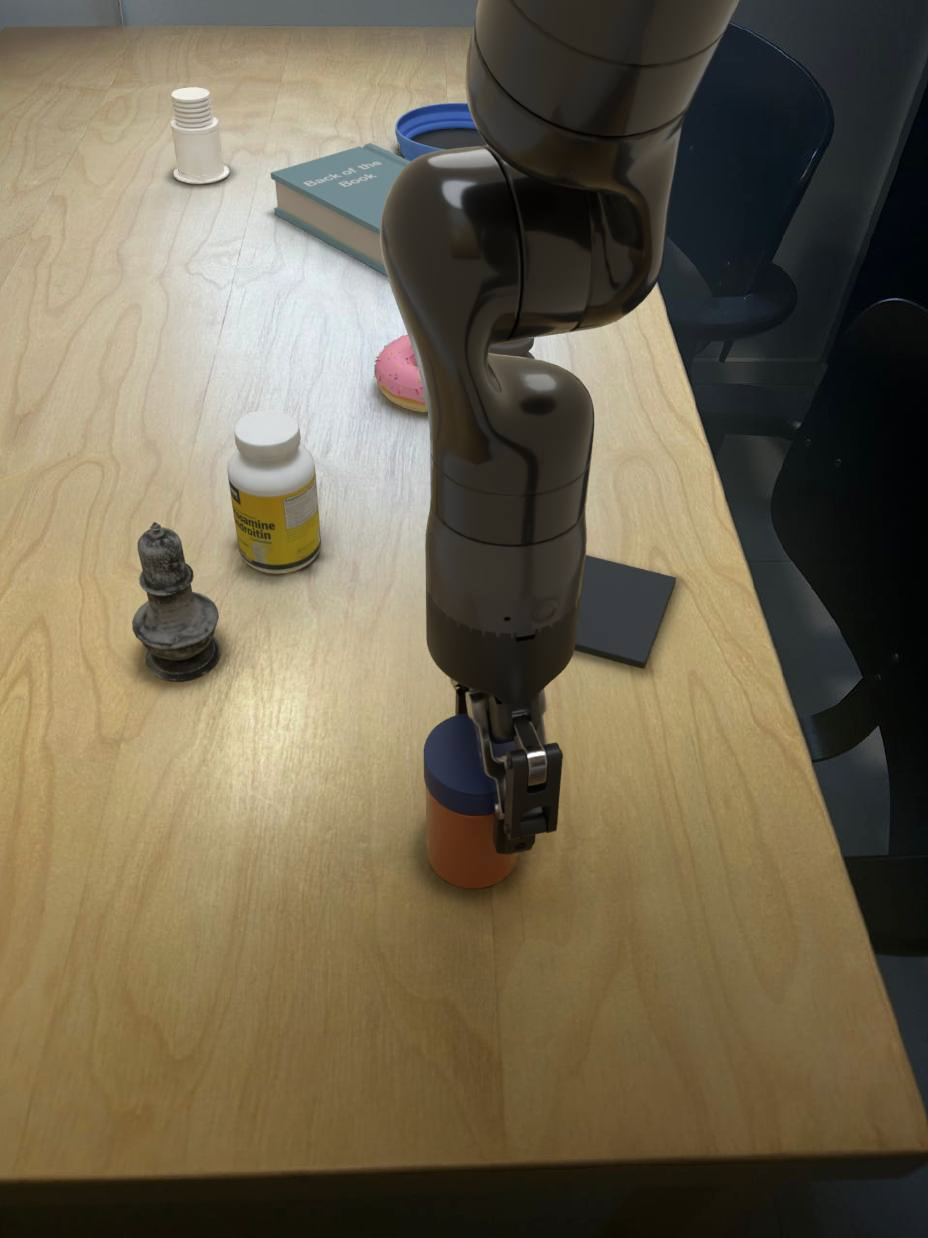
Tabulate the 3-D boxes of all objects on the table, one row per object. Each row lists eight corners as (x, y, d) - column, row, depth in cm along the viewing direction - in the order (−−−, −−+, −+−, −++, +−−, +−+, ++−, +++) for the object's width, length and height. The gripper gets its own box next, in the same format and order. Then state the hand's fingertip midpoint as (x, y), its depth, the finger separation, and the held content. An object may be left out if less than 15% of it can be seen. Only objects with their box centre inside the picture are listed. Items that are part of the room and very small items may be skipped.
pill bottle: (228, 539, 89) (208, 414, 81) (304, 517, 91) (292, 394, 83) (256, 587, 84) (237, 461, 76) (334, 563, 87) (324, 438, 79)
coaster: (675, 583, 86) (676, 577, 85) (644, 668, 79) (645, 662, 78) (552, 552, 88) (552, 546, 88) (511, 632, 81) (511, 626, 81)
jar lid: (459, 719, 65) (460, 697, 64) (546, 760, 63) (548, 738, 62) (403, 786, 61) (403, 764, 60) (493, 832, 59) (495, 810, 58)
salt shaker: (163, 697, 76) (130, 563, 68) (127, 648, 79) (92, 515, 71) (239, 662, 78) (217, 529, 70) (202, 616, 82) (176, 484, 74)
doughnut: (511, 402, 104) (513, 362, 101) (407, 432, 100) (406, 392, 97) (454, 350, 111) (454, 312, 108) (355, 376, 107) (353, 337, 104)
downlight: (228, 186, 140) (218, 103, 133) (172, 188, 139) (159, 105, 133) (230, 162, 146) (220, 81, 139) (175, 164, 145) (163, 83, 138)
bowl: (375, 166, 146) (374, 138, 144) (422, 121, 159) (422, 95, 156) (506, 185, 142) (507, 157, 140) (543, 138, 155) (545, 111, 152)
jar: (530, 828, 68) (539, 737, 63) (500, 901, 65) (507, 811, 59) (446, 801, 70) (447, 709, 64) (412, 871, 66) (409, 780, 60)
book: (274, 213, 134) (270, 172, 131) (377, 180, 142) (376, 140, 139) (393, 279, 122) (392, 235, 119) (498, 238, 130) (500, 196, 127)
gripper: (396, 497, 57) (403, 709, 68) (465, 693, 47) (460, 905, 58) (535, 478, 59) (520, 689, 70) (630, 664, 48) (595, 876, 60)
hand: (492, 787), depth 64 cm, fingers open, 8 cm apart
